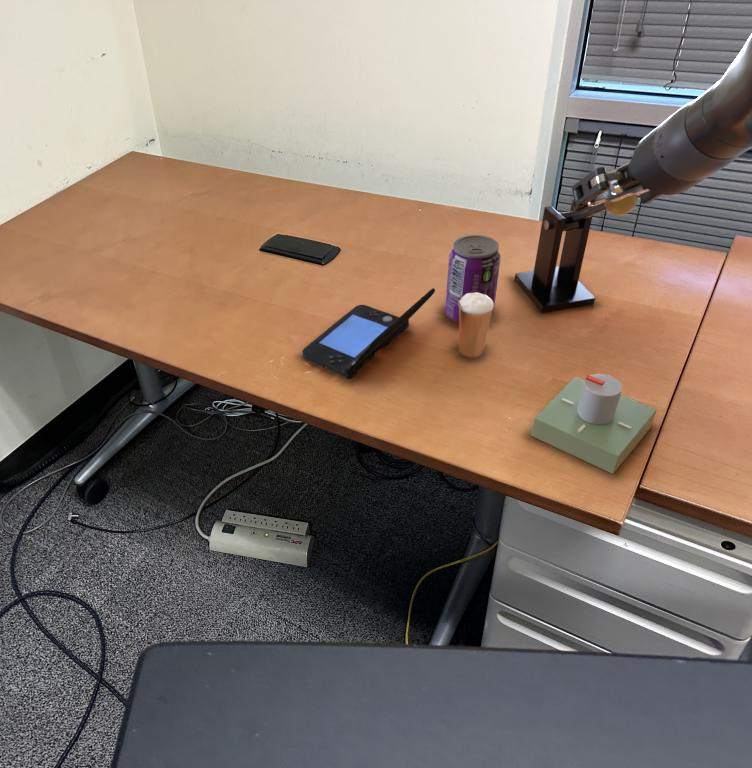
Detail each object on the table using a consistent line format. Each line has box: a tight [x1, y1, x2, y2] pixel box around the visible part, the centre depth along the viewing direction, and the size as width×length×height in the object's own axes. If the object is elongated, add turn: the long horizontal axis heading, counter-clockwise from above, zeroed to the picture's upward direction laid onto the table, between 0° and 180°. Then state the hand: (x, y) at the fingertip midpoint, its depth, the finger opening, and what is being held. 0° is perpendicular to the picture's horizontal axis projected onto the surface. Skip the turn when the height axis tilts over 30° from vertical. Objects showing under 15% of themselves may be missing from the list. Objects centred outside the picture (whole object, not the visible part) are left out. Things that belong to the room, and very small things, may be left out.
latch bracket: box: [514, 202, 596, 314], centre depth 103 cm, size 10×8×14 cm
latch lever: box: [559, 185, 638, 232], centre depth 92 cm, size 17×4×4 cm
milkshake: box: [456, 292, 495, 359], centre depth 95 cm, size 4×5×10 cm
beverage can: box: [444, 234, 502, 323], centre depth 101 cm, size 7×7×12 cm
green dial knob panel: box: [530, 376, 658, 475], centre depth 83 cm, size 10×10×3 cm
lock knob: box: [577, 373, 624, 425], centre depth 80 cm, size 4×4×5 cm
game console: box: [301, 287, 436, 380], centre depth 99 cm, size 16×14×9 cm
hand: (610, 201), depth 88 cm, fingers open, 8 cm apart
